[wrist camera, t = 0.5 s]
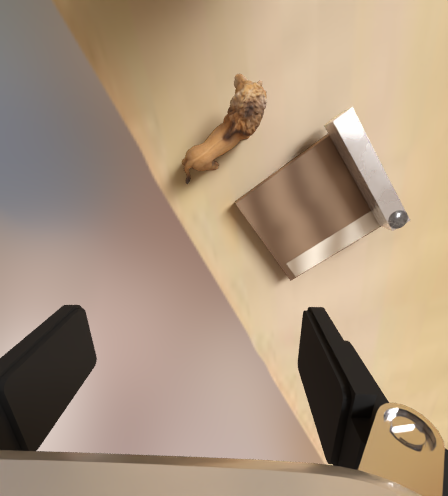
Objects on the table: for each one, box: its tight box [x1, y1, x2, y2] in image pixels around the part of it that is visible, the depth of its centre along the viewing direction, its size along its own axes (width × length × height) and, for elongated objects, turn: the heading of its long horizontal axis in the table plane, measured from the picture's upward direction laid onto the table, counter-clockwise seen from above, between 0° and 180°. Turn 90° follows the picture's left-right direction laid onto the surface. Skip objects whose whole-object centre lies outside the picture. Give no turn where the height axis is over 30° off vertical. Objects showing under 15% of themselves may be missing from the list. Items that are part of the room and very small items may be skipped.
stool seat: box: [235, 134, 381, 281], centre depth 36 cm, size 18×15×2 cm
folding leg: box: [324, 108, 410, 231], centre depth 31 cm, size 16×2×3 cm, turn 36°
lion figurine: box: [182, 74, 267, 184], centre depth 30 cm, size 15×5×9 cm, turn 139°
